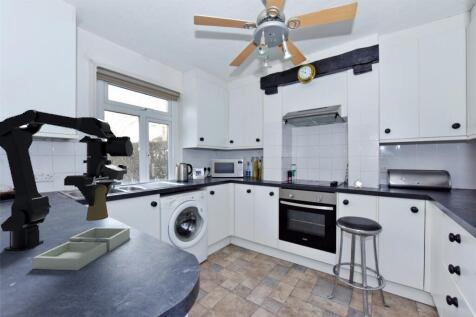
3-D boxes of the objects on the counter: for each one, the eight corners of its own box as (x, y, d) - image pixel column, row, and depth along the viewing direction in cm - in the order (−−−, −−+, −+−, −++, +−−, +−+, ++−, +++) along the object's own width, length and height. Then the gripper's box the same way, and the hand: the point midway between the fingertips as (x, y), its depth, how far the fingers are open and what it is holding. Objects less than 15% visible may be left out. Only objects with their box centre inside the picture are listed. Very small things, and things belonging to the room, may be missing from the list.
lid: (32, 268, 51) (32, 257, 51) (68, 250, 61) (68, 241, 61) (77, 270, 50) (77, 258, 50) (106, 251, 60) (106, 242, 60)
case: (66, 250, 61) (66, 238, 61) (94, 237, 72) (94, 226, 72) (108, 251, 60) (108, 239, 60) (129, 237, 71) (129, 227, 71)
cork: (97, 221, 63) (97, 186, 63) (81, 220, 64) (81, 185, 64) (112, 216, 69) (112, 183, 69) (97, 215, 70) (97, 183, 70)
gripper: (99, 156, 57) (99, 212, 57) (136, 157, 76) (136, 199, 75) (62, 156, 58) (62, 211, 57) (108, 157, 76) (108, 198, 76)
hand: (97, 204), depth 67 cm, fingers closed on cork, 4 cm apart
